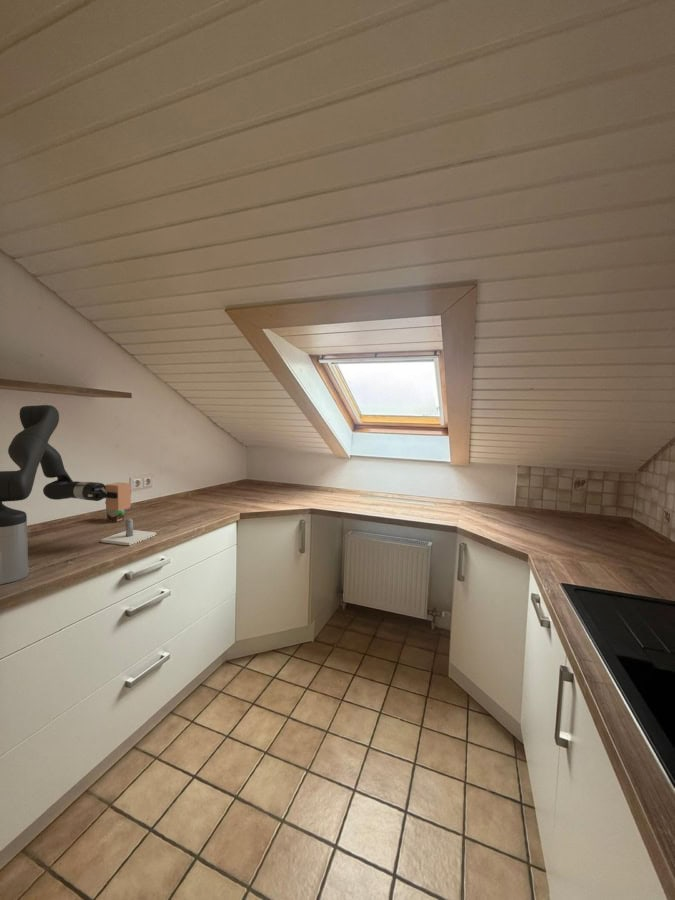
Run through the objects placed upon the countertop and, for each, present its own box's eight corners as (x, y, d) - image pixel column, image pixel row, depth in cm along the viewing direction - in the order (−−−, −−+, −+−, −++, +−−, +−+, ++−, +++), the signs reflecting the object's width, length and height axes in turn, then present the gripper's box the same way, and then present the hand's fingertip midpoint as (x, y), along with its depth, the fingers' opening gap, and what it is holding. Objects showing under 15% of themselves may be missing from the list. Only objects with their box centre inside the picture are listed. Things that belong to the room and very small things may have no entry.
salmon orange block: (118, 510, 135) (118, 485, 134) (106, 509, 136) (105, 484, 136) (130, 507, 141) (130, 483, 140) (118, 506, 142) (118, 482, 142)
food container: (131, 520, 171) (131, 500, 170) (118, 523, 165) (118, 503, 165) (118, 516, 177) (118, 497, 176) (105, 519, 172) (105, 499, 171)
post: (129, 545, 136) (129, 524, 135) (101, 542, 139) (100, 521, 138) (156, 535, 149) (155, 516, 149) (129, 532, 152) (129, 513, 152)
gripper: (72, 484, 134) (107, 488, 131) (105, 479, 148) (137, 482, 144) (73, 503, 135) (108, 507, 131) (105, 496, 149) (137, 499, 145)
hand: (123, 494), depth 138 cm, fingers closed on salmon orange block, 6 cm apart
